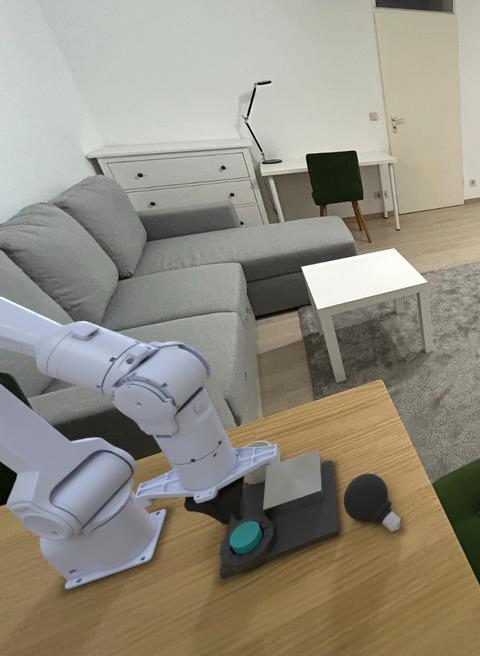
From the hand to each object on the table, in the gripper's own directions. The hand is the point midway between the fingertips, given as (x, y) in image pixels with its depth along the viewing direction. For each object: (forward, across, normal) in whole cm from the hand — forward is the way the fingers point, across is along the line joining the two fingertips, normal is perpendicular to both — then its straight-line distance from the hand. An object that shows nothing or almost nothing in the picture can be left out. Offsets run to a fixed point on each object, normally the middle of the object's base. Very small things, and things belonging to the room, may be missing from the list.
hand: (234, 515), depth 51 cm
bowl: (+8, 0, +14) cm, 16 cm away
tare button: (+6, 0, 0) cm, 6 cm away
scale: (+8, +4, +4) cm, 10 cm away
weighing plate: (+8, +6, +7) cm, 12 cm away
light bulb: (+9, +17, -1) cm, 19 cm away
